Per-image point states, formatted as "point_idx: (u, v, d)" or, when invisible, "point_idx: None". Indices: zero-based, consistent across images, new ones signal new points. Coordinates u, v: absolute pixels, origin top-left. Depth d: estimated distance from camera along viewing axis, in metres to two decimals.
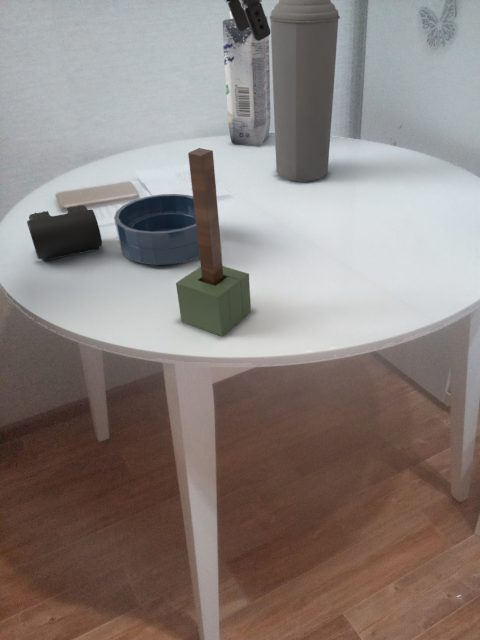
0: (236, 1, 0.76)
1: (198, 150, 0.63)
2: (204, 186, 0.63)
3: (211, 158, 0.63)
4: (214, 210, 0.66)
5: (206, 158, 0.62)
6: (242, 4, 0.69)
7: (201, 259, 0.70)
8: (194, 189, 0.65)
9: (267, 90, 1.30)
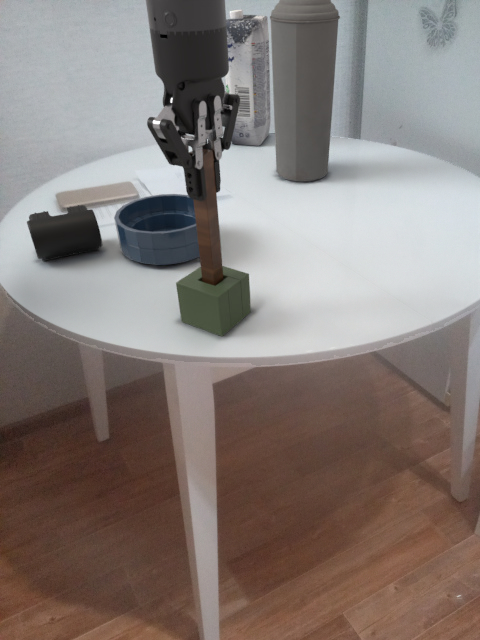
0: None
1: None
2: None
3: (211, 158, 0.63)
4: (214, 210, 0.66)
5: (206, 158, 0.62)
6: None
7: (201, 259, 0.70)
8: None
9: (267, 90, 1.30)
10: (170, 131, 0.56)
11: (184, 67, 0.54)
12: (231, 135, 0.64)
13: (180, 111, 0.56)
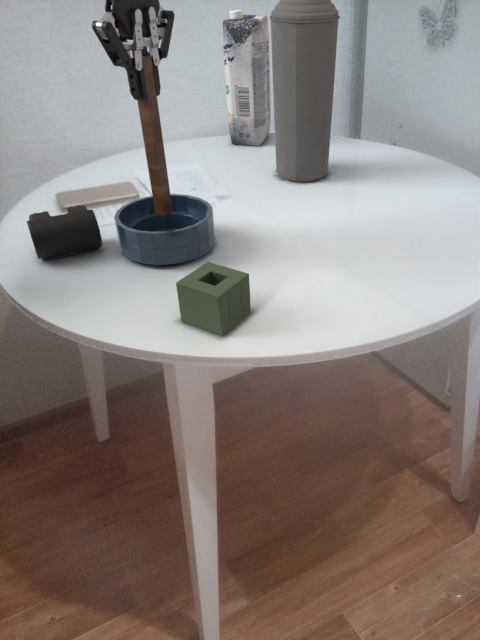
0: None
1: None
2: None
3: (150, 63, 0.76)
4: (155, 111, 0.79)
5: (145, 62, 0.75)
6: None
7: (147, 157, 0.83)
8: None
9: (267, 90, 1.30)
10: (110, 31, 0.69)
11: None
12: (168, 46, 0.77)
13: (119, 16, 0.69)
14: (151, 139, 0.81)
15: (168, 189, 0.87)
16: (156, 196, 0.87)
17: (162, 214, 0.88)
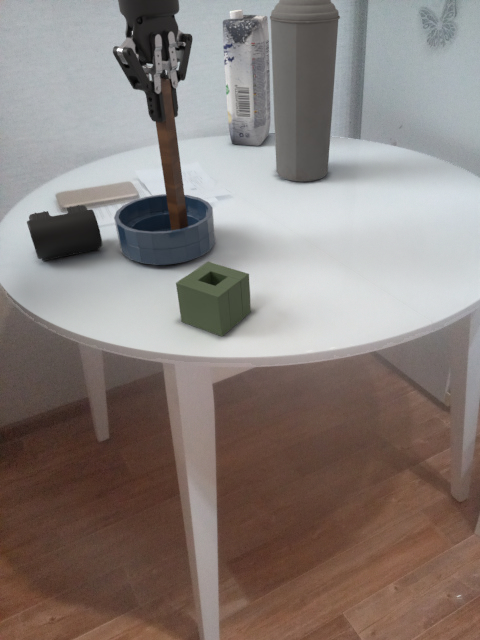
0: None
1: None
2: None
3: (168, 86, 0.77)
4: (173, 132, 0.80)
5: (164, 85, 0.76)
6: None
7: (164, 176, 0.84)
8: None
9: (267, 90, 1.30)
10: (131, 57, 0.70)
11: (141, 4, 0.68)
12: (186, 68, 0.78)
13: (139, 41, 0.70)
14: (169, 159, 0.82)
15: (184, 207, 0.88)
16: (172, 214, 0.88)
17: None
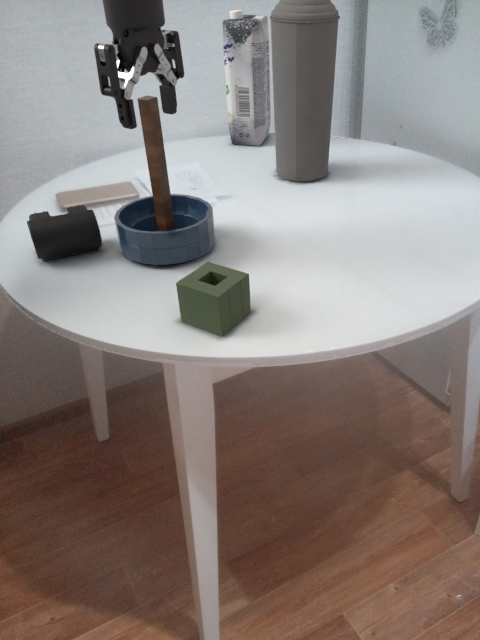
0: (165, 88, 0.81)
1: (145, 97, 0.79)
2: (151, 126, 0.80)
3: (156, 103, 0.79)
4: (161, 147, 0.82)
5: (151, 103, 0.78)
6: None
7: (152, 190, 0.86)
8: (143, 129, 0.81)
9: (267, 90, 1.30)
10: (111, 54, 0.70)
11: (127, 18, 0.69)
12: (182, 64, 0.80)
13: (125, 53, 0.72)
14: (156, 174, 0.84)
15: (172, 220, 0.90)
16: (161, 227, 0.90)
17: None
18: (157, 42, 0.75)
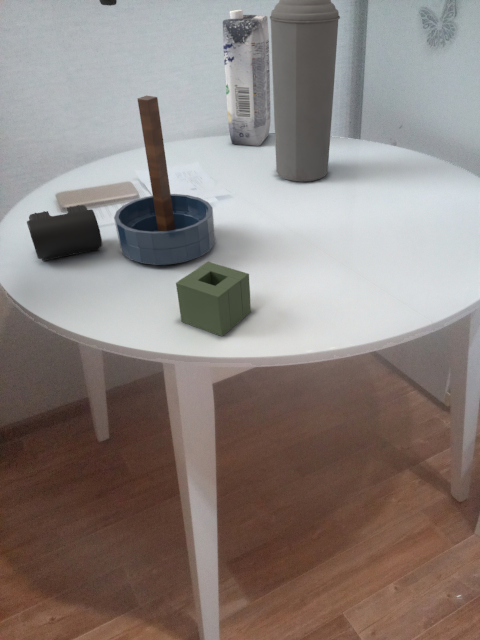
0: None
1: (145, 97, 0.79)
2: (151, 126, 0.80)
3: (156, 103, 0.79)
4: (161, 147, 0.82)
5: (151, 103, 0.78)
6: None
7: (152, 190, 0.86)
8: (143, 129, 0.81)
9: (267, 90, 1.30)
10: None
11: None
12: None
13: None
14: (156, 174, 0.84)
15: (172, 220, 0.90)
16: (161, 227, 0.90)
17: None
18: None
